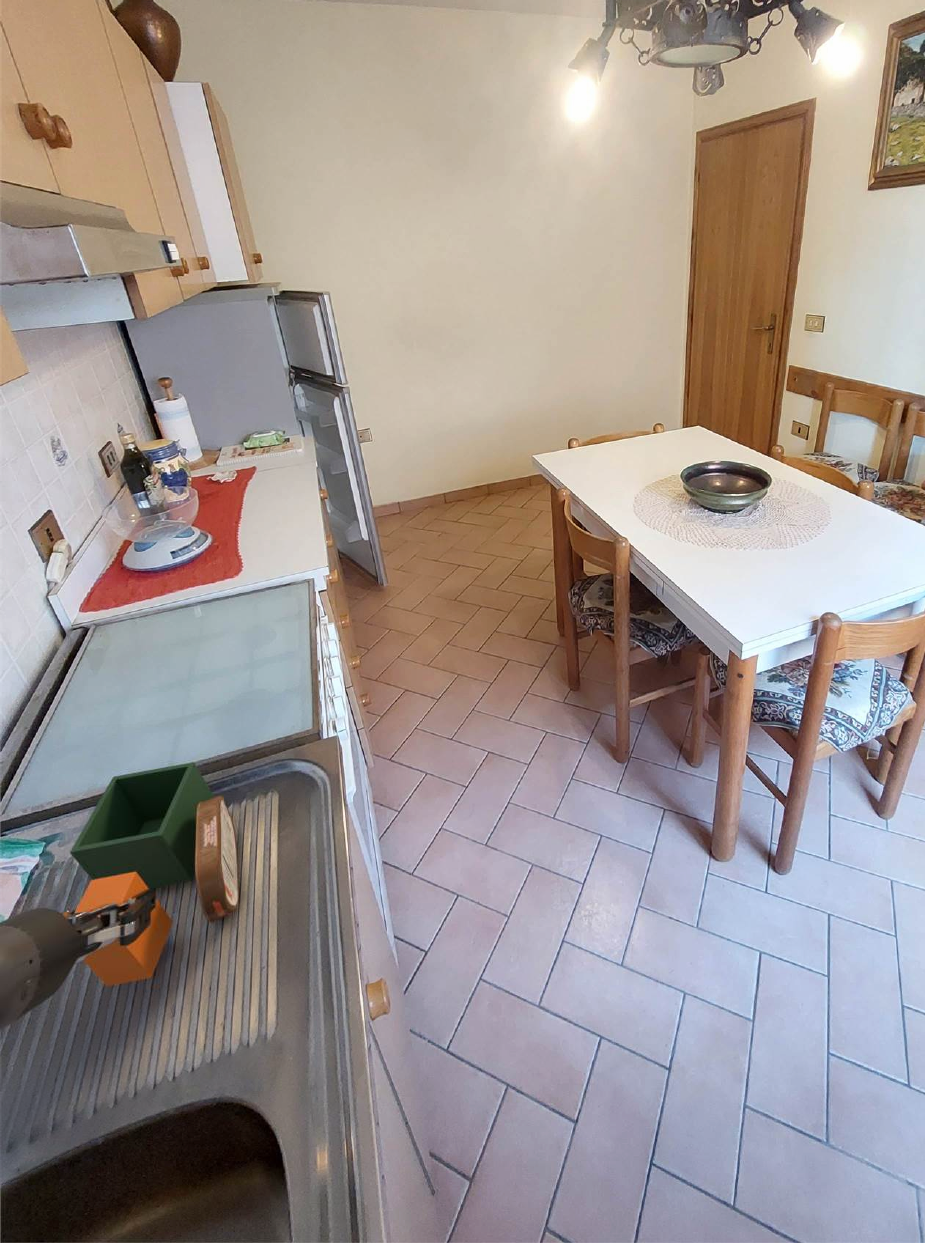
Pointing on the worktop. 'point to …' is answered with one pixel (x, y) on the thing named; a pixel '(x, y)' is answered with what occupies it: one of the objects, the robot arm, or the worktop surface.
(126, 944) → the robot arm
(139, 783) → the waste bin
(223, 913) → the tin
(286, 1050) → the worktop surface
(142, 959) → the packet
